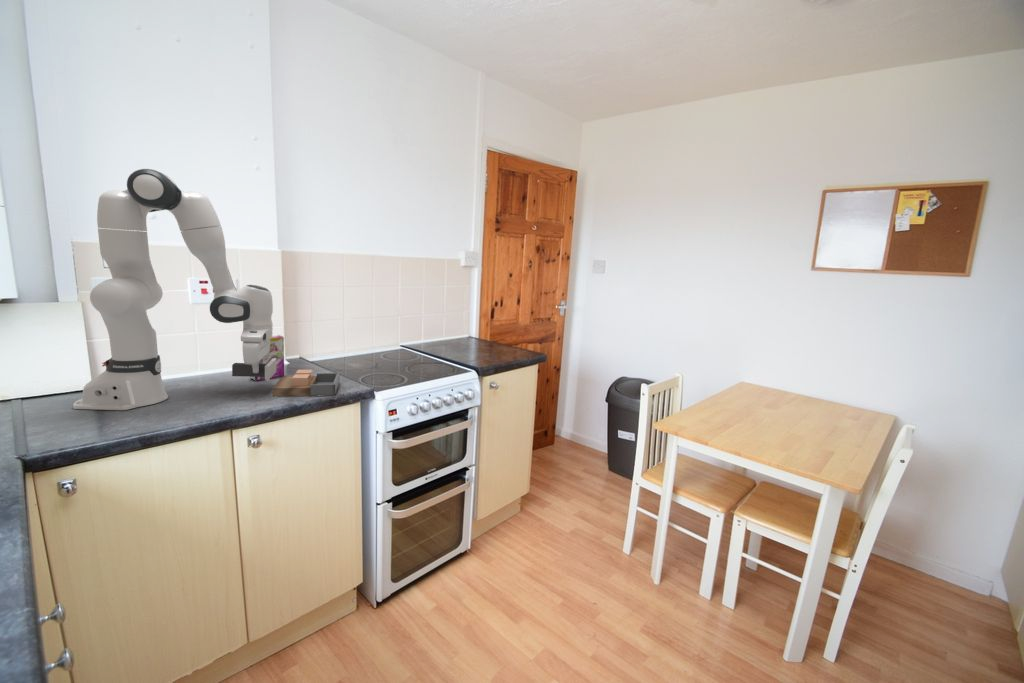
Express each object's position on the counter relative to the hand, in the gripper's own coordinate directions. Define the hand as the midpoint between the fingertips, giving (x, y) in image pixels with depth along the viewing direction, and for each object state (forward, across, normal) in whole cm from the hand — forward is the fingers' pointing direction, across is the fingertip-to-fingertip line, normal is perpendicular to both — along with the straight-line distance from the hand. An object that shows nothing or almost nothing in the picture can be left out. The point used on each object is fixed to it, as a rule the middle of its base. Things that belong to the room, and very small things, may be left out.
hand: (257, 371), depth 156 cm
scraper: (+2, 0, -2) cm, 3 cm away
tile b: (+4, -3, +15) cm, 15 cm away
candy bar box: (+7, -17, 0) cm, 19 cm away
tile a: (+4, +3, +15) cm, 15 cm away
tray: (+6, 0, +22) cm, 23 cm away
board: (+7, 0, +12) cm, 14 cm away
